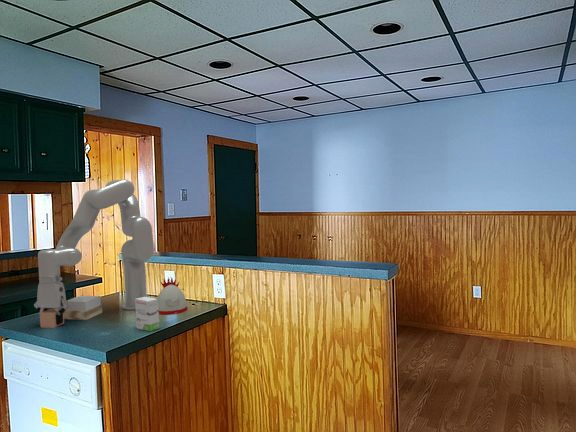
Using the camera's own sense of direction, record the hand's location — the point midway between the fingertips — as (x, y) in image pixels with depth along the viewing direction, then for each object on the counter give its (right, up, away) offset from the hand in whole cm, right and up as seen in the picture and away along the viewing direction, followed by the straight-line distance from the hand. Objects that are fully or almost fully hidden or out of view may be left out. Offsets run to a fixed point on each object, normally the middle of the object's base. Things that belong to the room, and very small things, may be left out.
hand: (52, 323), depth 171 cm
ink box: (+41, 0, -7) cm, 42 cm away
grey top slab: (+6, +4, +13) cm, 15 cm away
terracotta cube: (0, -1, 0) cm, 1 cm away
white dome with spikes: (+44, +1, +18) cm, 47 cm away
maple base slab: (+6, 0, +13) cm, 14 cm away
